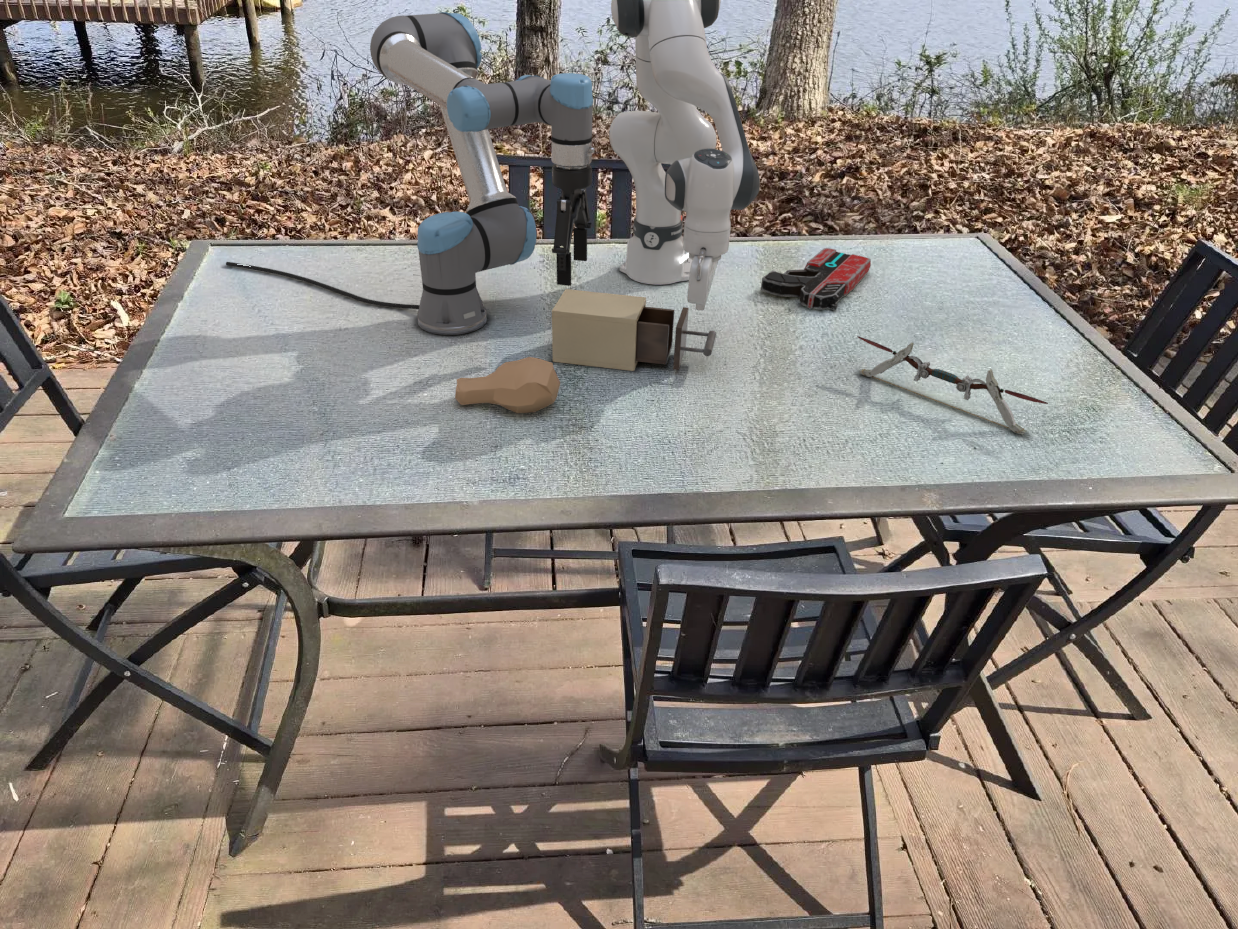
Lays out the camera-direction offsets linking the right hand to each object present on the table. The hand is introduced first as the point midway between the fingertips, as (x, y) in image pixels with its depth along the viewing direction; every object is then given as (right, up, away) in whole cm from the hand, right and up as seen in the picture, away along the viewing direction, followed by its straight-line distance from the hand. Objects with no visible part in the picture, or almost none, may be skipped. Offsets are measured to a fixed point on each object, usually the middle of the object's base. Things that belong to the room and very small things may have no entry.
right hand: (700, 307), depth 175 cm
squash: (-37, -20, -8) cm, 43 cm away
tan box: (-21, -8, +10) cm, 24 cm away
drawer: (-8, -9, +8) cm, 14 cm away
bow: (+46, -19, -3) cm, 50 cm away
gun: (+34, +14, +45) cm, 58 cm away
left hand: (-26, +7, +1) cm, 27 cm away
